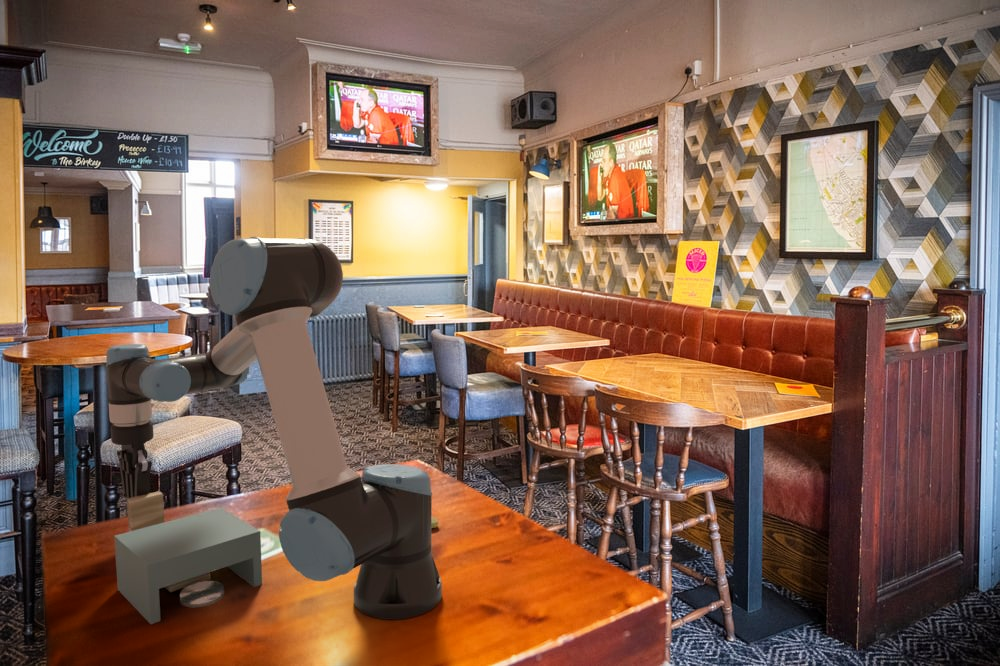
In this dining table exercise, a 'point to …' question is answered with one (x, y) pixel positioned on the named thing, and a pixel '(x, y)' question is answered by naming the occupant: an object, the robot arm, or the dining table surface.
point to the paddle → (150, 513)
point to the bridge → (184, 555)
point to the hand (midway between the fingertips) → (138, 534)
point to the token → (201, 594)
